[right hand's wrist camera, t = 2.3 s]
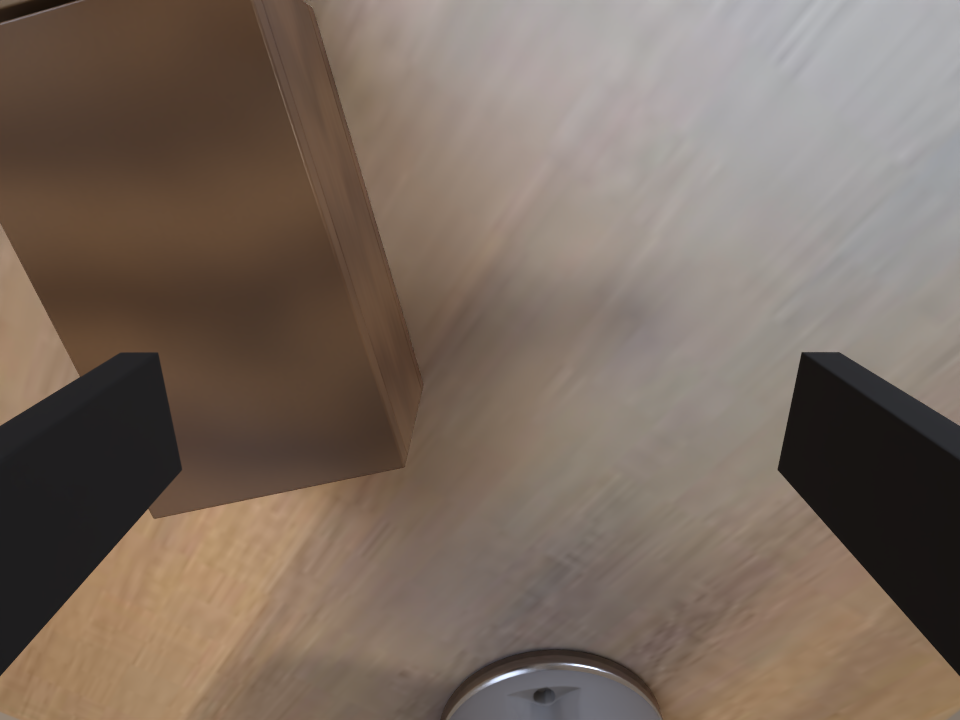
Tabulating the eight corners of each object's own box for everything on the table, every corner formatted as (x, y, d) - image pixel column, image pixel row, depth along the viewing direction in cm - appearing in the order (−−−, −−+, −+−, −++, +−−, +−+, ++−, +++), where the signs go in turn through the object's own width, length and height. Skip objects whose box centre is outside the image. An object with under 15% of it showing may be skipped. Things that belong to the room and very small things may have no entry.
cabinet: (77, 72, 26) (-92, 48, 18) (312, 7, 25) (238, -48, 18) (231, 427, 33) (153, 519, 25) (423, 385, 32) (405, 468, 24)
